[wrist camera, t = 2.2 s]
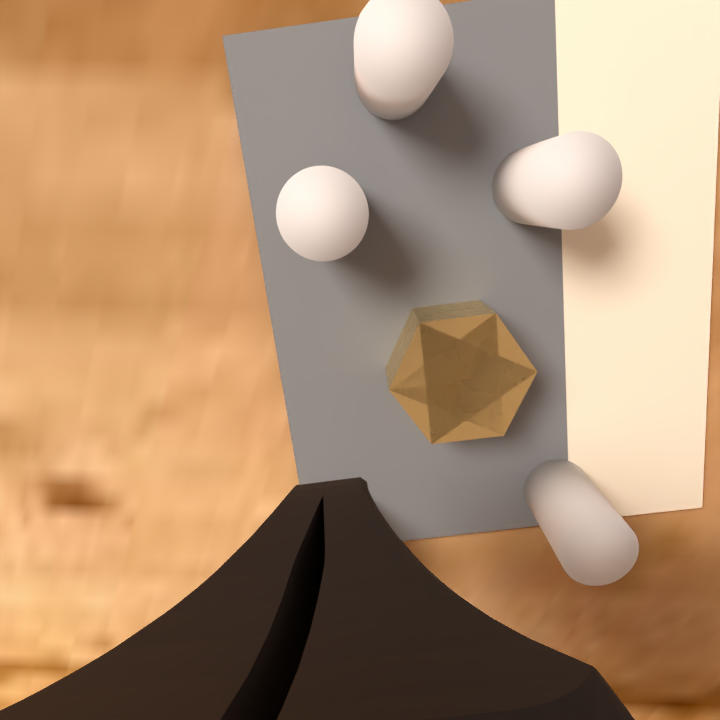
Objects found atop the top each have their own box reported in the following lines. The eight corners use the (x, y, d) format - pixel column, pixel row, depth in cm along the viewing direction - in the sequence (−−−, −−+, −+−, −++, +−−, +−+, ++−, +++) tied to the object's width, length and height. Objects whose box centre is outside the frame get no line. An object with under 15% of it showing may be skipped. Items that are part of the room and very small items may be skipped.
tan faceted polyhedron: (513, 295, 19) (534, 308, 17) (519, 405, 20) (539, 431, 18) (378, 312, 19) (381, 327, 17) (391, 420, 20) (395, 448, 18)
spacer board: (717, -31, 17) (837, -108, 13) (696, 502, 22) (778, 574, 17) (225, 39, 17) (182, -13, 13) (311, 545, 22) (300, 626, 18)
